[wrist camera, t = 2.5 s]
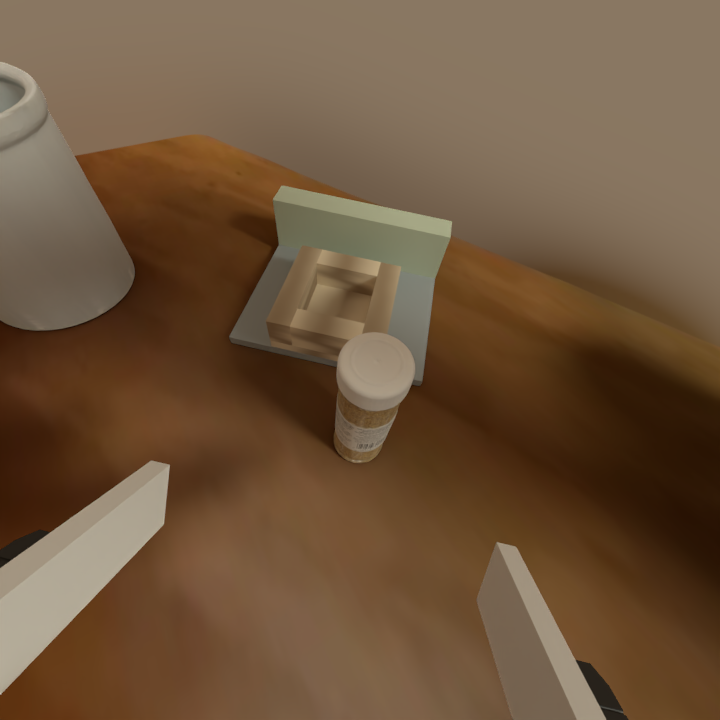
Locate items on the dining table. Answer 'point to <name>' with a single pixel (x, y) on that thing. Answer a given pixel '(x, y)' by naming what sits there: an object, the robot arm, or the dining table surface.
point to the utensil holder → (50, 221)
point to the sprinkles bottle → (369, 393)
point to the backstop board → (398, 326)
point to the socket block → (331, 302)
